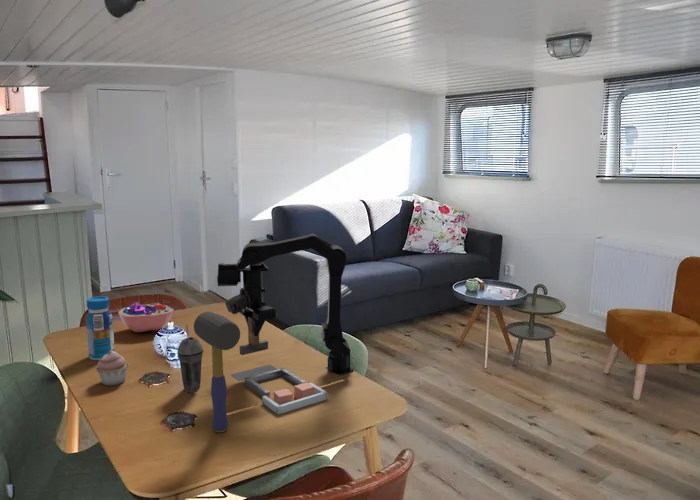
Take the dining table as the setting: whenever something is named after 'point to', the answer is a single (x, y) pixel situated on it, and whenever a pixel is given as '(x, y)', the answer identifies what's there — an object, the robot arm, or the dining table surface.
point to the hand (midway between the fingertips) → (254, 334)
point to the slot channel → (253, 380)
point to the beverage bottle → (99, 327)
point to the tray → (296, 401)
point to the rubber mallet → (217, 359)
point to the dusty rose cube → (283, 396)
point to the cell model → (145, 316)
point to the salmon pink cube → (303, 390)
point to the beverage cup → (190, 362)
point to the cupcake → (112, 368)
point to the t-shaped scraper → (253, 342)
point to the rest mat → (252, 372)
